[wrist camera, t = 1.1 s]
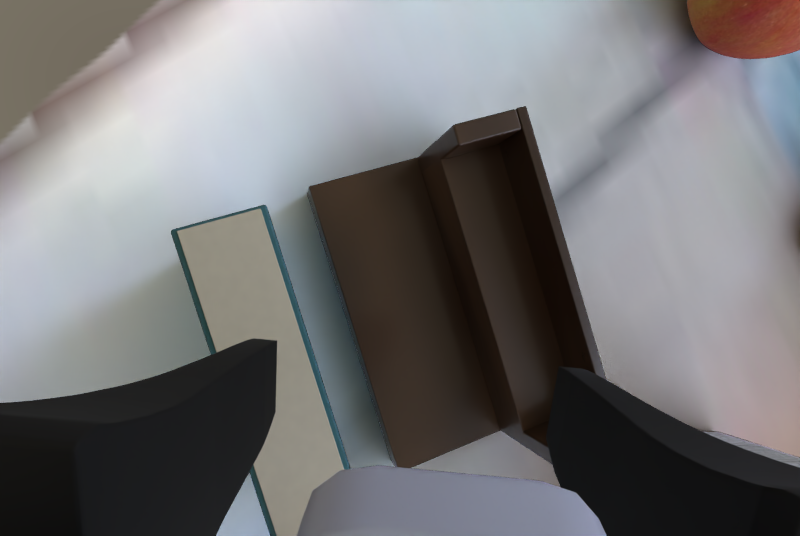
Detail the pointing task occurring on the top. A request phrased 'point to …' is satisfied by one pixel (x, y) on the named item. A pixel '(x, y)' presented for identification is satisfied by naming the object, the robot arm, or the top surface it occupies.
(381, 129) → the top surface
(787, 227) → the top surface
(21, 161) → the top surface
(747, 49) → the apple
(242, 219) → the book
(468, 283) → the step shelf
